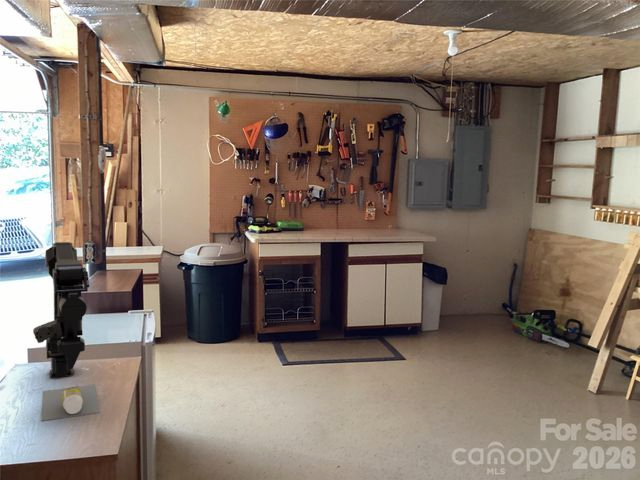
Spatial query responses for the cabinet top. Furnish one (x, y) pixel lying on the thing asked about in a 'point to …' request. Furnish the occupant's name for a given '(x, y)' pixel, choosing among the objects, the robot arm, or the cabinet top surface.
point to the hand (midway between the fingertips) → (70, 368)
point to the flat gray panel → (54, 403)
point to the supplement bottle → (72, 400)
